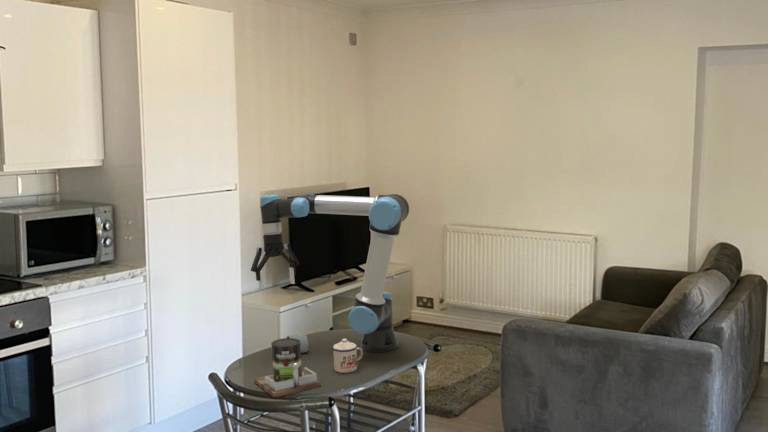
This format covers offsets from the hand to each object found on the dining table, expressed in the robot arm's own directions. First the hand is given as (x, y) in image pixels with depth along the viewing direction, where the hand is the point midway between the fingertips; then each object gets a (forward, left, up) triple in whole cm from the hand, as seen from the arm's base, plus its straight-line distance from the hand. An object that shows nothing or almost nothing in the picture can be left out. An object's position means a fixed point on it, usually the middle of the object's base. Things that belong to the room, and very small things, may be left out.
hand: (277, 286), depth 308 cm
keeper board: (-14, +35, -28) cm, 47 cm away
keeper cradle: (-17, +38, -26) cm, 49 cm away
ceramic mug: (-6, -2, -28) cm, 29 cm away
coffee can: (-15, +34, -27) cm, 46 cm away
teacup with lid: (-32, +16, -28) cm, 46 cm away
